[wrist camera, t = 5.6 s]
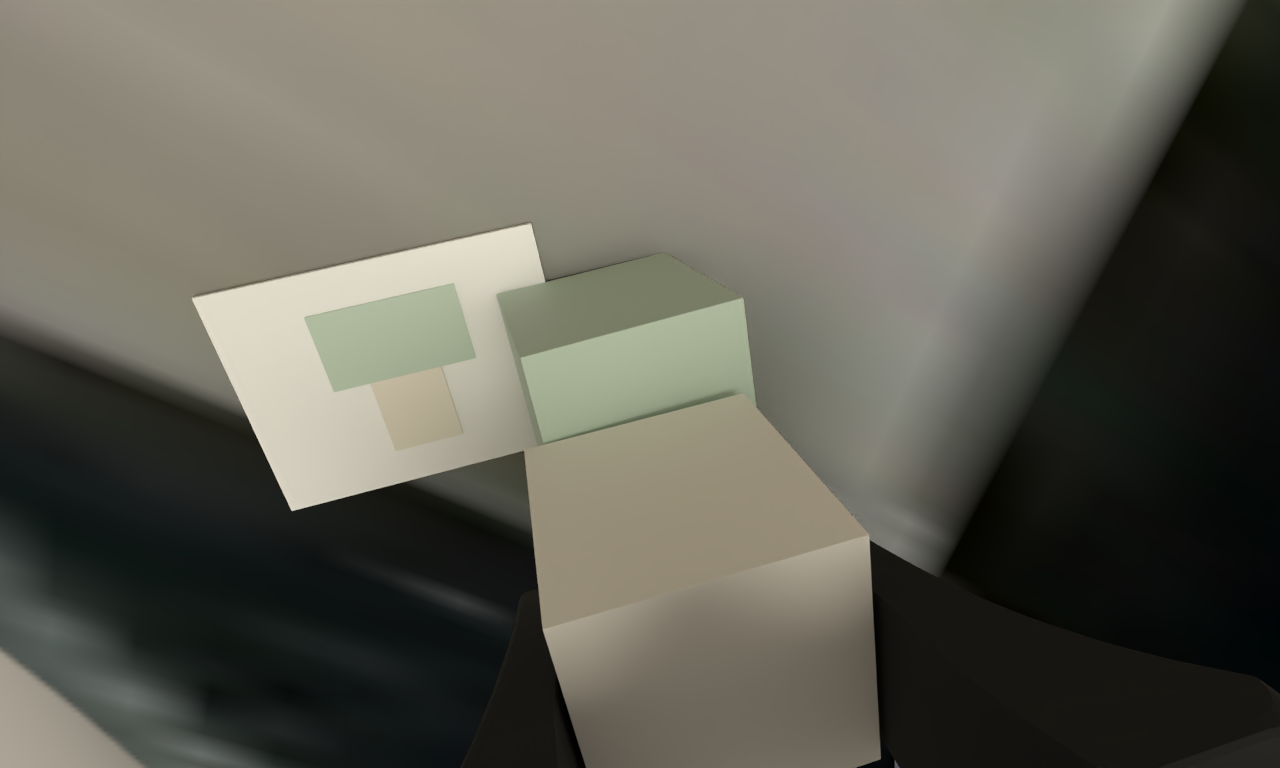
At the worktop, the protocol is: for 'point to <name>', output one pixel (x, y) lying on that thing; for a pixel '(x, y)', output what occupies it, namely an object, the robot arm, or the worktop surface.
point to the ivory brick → (704, 596)
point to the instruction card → (380, 364)
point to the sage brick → (625, 345)
